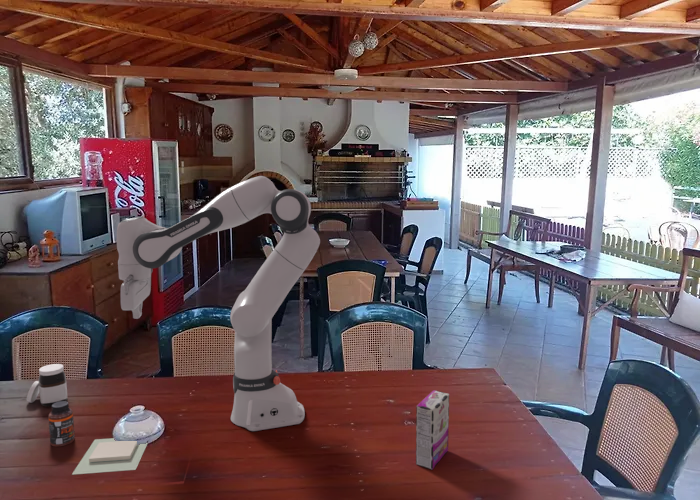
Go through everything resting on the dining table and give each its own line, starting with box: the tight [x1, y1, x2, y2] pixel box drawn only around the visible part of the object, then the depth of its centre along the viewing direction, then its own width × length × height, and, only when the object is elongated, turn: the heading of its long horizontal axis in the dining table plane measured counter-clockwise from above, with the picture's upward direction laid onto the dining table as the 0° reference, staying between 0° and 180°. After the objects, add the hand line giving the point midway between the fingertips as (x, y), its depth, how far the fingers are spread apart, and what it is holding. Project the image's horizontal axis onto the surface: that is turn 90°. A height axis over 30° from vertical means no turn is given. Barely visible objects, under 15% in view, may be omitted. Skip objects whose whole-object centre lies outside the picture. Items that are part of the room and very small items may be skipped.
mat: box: [71, 437, 149, 476], centre depth 136 cm, size 15×17×1 cm
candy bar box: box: [415, 389, 450, 470], centre depth 135 cm, size 11×5×16 cm, turn 148°
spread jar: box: [26, 363, 68, 407], centre depth 167 cm, size 12×11×12 cm
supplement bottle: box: [48, 400, 76, 448], centre depth 142 cm, size 6×6×11 cm
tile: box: [89, 441, 137, 463], centre depth 136 cm, size 10×1×8 cm
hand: (137, 317), depth 154 cm, fingers closed
